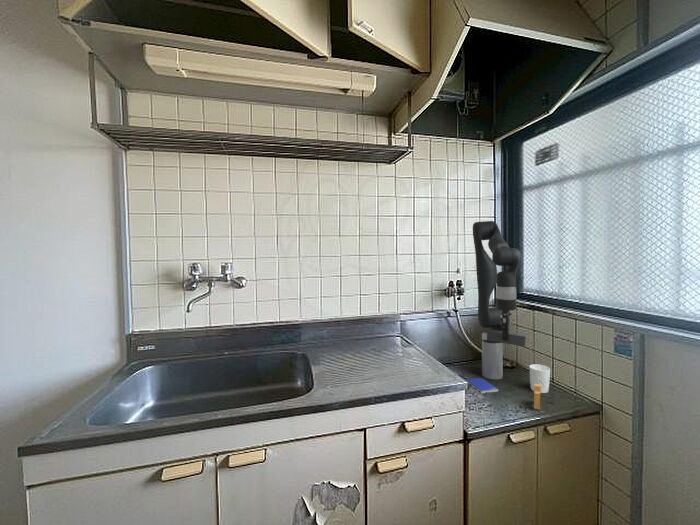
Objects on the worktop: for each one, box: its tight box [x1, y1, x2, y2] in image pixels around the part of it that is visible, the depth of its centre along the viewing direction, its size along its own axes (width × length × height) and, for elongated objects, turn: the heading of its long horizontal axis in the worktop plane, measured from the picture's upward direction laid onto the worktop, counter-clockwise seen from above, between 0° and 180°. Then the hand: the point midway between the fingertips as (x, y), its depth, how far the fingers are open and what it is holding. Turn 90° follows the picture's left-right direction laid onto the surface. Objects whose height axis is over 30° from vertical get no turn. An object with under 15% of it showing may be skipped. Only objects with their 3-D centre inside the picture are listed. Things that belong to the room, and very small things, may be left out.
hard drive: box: [466, 377, 499, 394], centre depth 150 cm, size 2×8×12 cm
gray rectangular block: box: [481, 328, 527, 347], centre depth 136 cm, size 3×16×4 cm, turn 60°
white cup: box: [529, 363, 551, 394], centre depth 145 cm, size 8×8×10 cm
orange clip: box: [533, 384, 541, 411], centre depth 131 cm, size 6×2×8 cm, turn 150°
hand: (505, 339), depth 136 cm, fingers closed on gray rectangular block, 3 cm apart
